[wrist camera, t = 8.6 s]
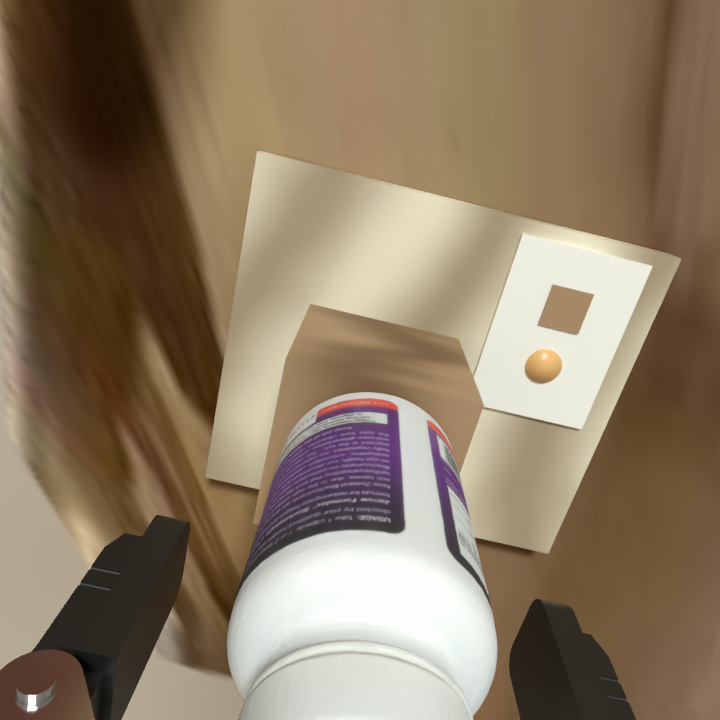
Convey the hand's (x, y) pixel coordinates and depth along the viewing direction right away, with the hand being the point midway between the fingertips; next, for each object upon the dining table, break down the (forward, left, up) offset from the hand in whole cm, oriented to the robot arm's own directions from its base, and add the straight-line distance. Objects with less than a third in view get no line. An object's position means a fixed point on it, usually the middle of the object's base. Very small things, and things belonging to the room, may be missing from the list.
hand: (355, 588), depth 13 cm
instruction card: (-6, -4, -11) cm, 13 cm away
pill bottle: (0, 0, -5) cm, 5 cm away
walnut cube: (0, 0, -11) cm, 11 cm away
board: (-2, -1, -12) cm, 13 cm away
